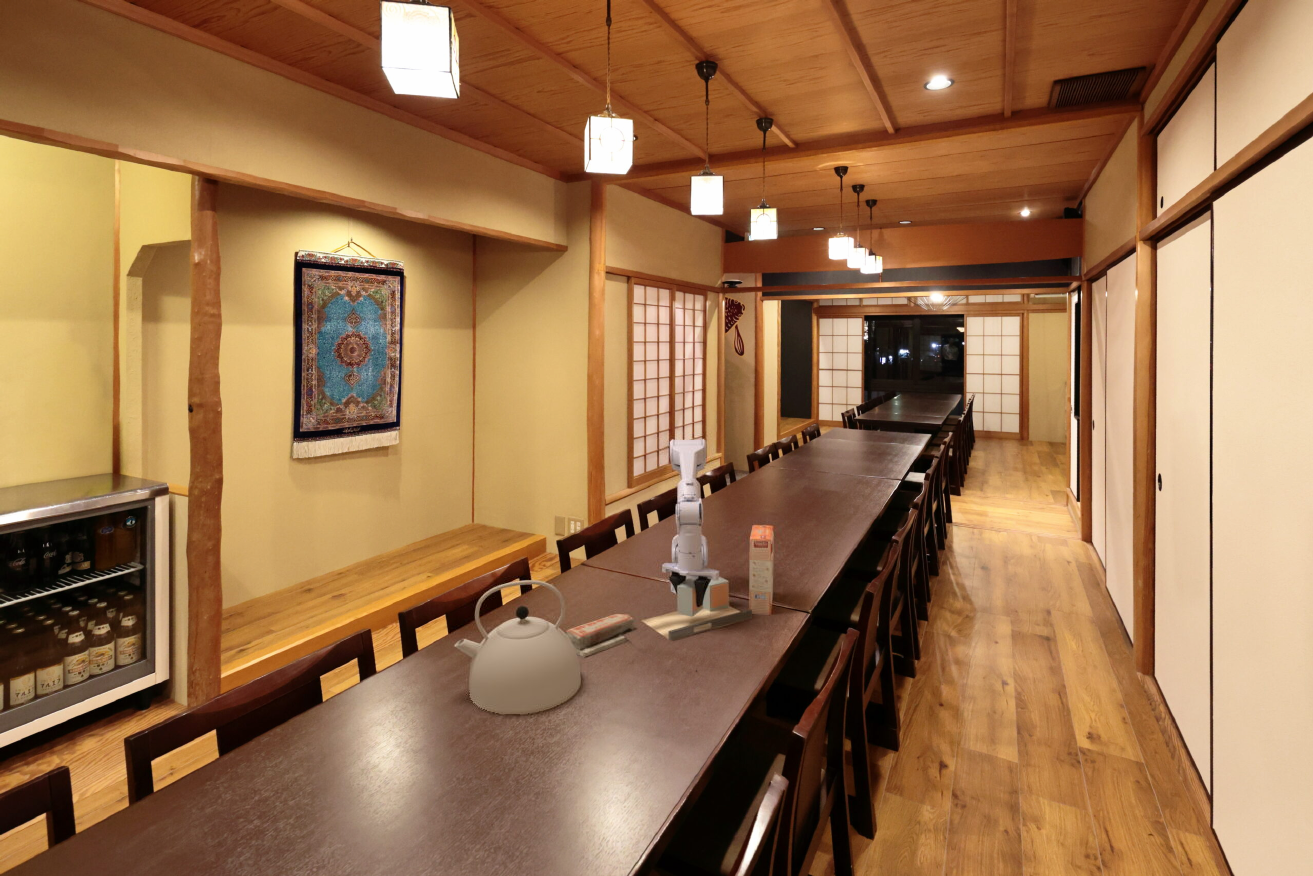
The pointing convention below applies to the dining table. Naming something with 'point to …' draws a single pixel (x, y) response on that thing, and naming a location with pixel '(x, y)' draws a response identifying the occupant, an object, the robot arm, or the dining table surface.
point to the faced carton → (716, 595)
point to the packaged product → (600, 634)
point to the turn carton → (687, 598)
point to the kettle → (522, 662)
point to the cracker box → (761, 569)
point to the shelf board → (695, 622)
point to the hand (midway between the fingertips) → (690, 604)
